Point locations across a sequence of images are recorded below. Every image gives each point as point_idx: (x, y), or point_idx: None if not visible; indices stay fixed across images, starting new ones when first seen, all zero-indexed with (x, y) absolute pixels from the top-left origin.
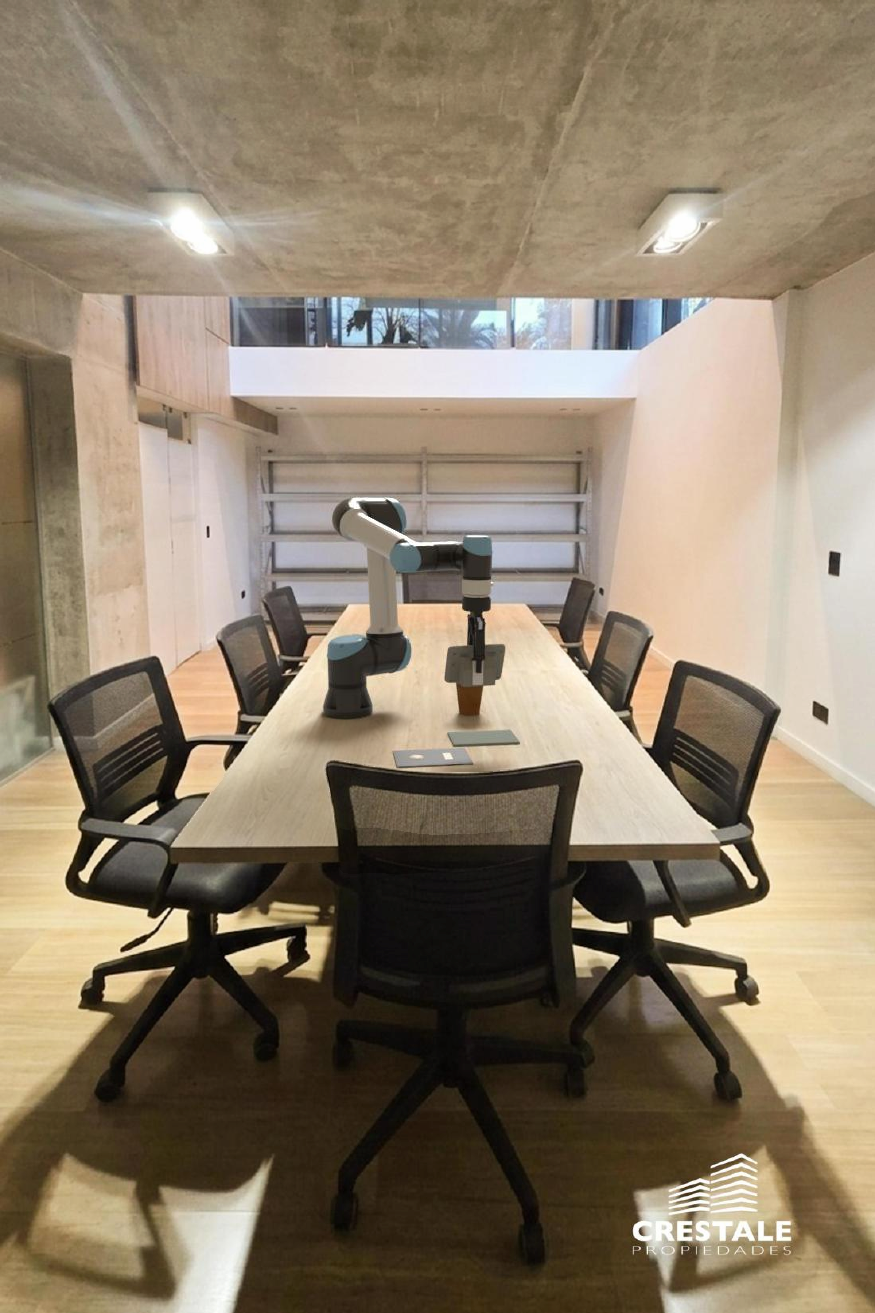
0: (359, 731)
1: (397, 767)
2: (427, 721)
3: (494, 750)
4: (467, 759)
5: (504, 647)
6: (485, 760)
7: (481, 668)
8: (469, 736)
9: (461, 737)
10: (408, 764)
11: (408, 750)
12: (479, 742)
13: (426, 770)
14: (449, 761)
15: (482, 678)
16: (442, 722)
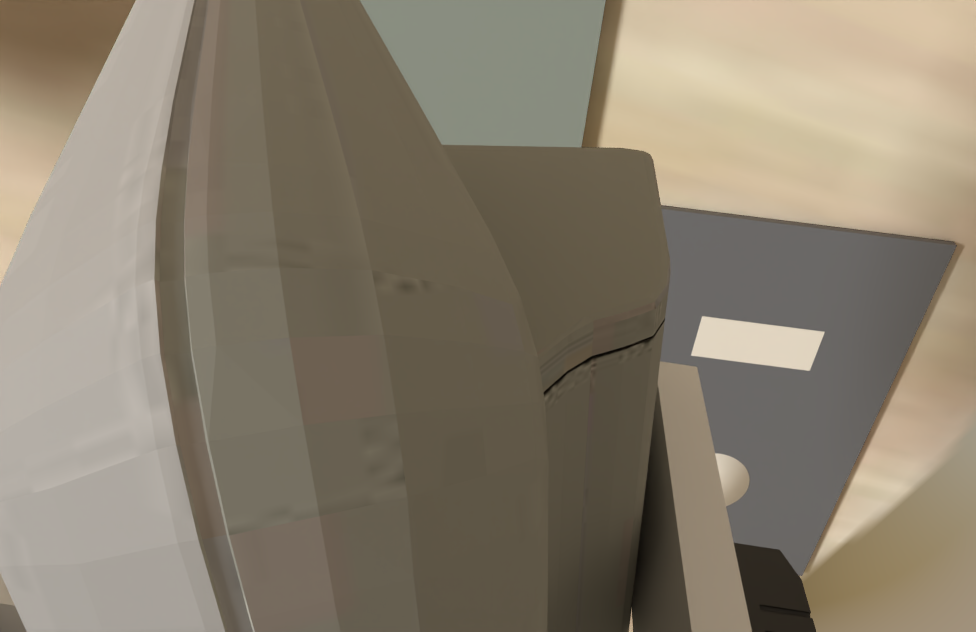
0: None
1: (801, 570)
2: (5, 262)
3: (744, 3)
4: (871, 258)
5: (449, 343)
6: (921, 142)
7: (813, 629)
8: None
9: None
10: (797, 533)
11: None
12: (569, 77)
13: (905, 479)
14: (852, 360)
15: (707, 438)
16: (18, 176)
